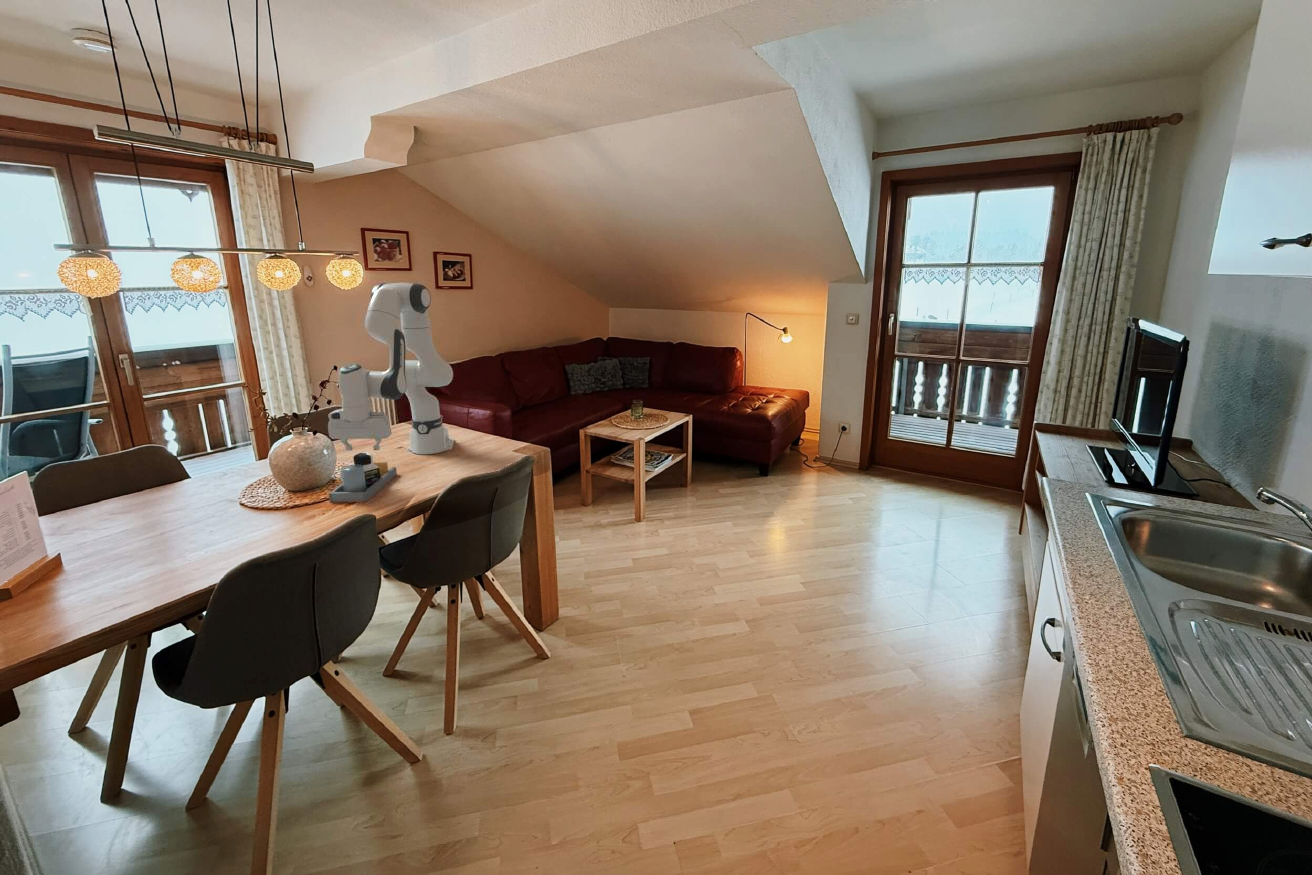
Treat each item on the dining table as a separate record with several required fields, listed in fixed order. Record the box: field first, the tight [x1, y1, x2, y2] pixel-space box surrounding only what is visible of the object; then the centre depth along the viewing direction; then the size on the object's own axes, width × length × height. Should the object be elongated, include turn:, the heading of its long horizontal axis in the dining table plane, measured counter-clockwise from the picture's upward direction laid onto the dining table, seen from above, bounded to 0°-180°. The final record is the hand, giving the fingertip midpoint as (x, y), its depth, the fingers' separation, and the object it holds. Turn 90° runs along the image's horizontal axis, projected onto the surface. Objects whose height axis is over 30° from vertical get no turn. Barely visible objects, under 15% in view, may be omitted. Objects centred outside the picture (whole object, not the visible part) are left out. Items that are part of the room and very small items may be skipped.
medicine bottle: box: [353, 452, 381, 489], centre depth 204 cm, size 7×7×12 cm
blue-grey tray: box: [328, 466, 398, 503], centre depth 204 cm, size 26×12×4 cm, turn 3°
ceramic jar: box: [339, 464, 367, 492], centre depth 196 cm, size 7×7×10 cm
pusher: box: [373, 461, 389, 477], centre depth 212 cm, size 1×9×6 cm, turn 93°
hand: (363, 449), depth 203 cm, fingers open, 8 cm apart
